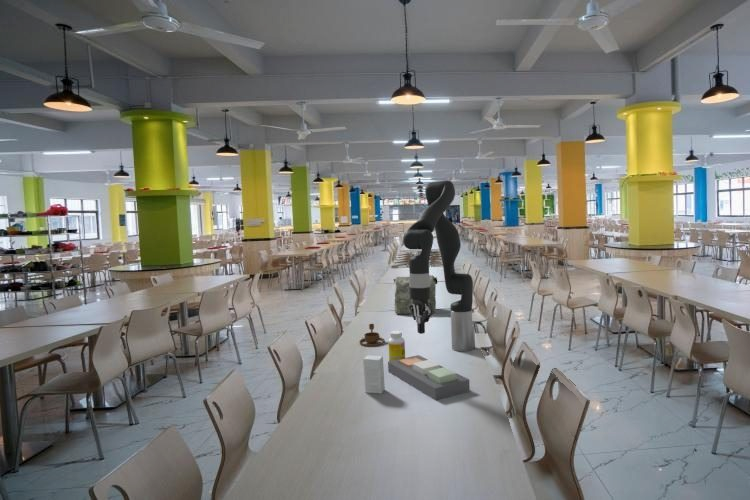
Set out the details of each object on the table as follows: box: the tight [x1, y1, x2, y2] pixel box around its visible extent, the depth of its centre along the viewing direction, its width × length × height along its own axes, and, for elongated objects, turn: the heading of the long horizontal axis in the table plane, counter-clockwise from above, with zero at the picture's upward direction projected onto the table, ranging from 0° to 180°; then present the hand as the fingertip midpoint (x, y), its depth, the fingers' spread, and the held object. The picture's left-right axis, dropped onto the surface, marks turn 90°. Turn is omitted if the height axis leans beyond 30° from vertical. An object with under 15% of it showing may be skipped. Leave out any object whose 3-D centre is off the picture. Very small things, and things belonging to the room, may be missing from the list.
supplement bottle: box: [387, 330, 406, 362], centre depth 190 cm, size 7×7×13 cm
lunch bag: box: [393, 274, 438, 316], centre depth 281 cm, size 26×18×22 cm
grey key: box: [412, 359, 440, 375], centre depth 170 cm, size 7×7×3 cm
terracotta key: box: [399, 356, 422, 367], centre depth 179 cm, size 7×7×3 cm
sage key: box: [428, 366, 457, 384], centre depth 161 cm, size 7×7×3 cm
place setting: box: [359, 323, 388, 348], centre depth 224 cm, size 18×20×6 cm
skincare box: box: [362, 355, 386, 394], centre depth 162 cm, size 6×4×12 cm
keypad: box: [387, 354, 471, 401], centre depth 170 cm, size 14×32×4 cm, turn 27°
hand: (421, 333), depth 168 cm, fingers closed
